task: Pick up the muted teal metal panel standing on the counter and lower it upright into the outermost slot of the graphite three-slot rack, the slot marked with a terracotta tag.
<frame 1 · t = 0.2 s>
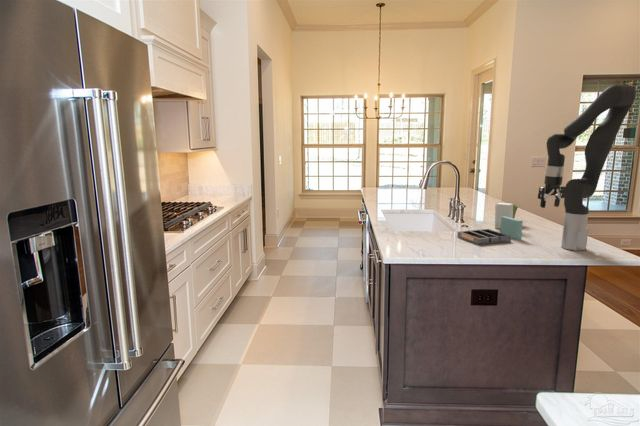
hand: (549, 207, 198), 18 cm above the countertop, tool pointing down, fingers open, 8 cm apart
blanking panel: (510, 236, 210), on the countertop
skincare box: (503, 228, 229), on the countertop
rack: (483, 239, 206), on the countertop
plant pot: (506, 223, 243), on the countertop
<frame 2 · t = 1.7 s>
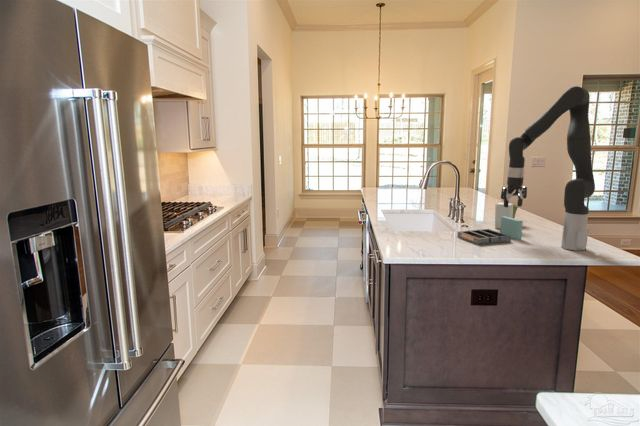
hand: (512, 206, 207), 16 cm above the countertop, tool pointing down, fingers open, 8 cm apart
nothing on the countertop moved.
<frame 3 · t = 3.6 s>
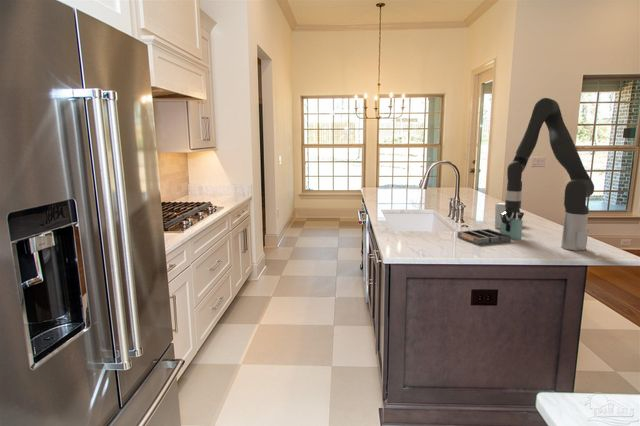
hand: (510, 231, 210), 3 cm above the countertop, tool pointing down, fingers closed on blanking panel, 3 cm apart
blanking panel: (510, 236, 210), on the countertop, touching gripper
everything else where it was.
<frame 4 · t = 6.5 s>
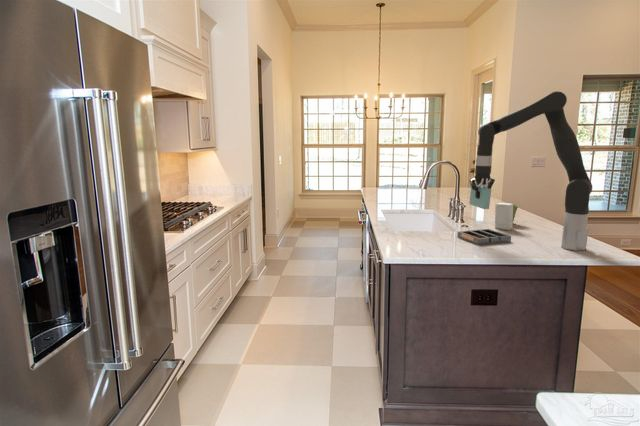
hand: (480, 198, 201), 22 cm above the countertop, tool pointing down, fingers closed on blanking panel, 3 cm apart
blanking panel: (478, 206, 203), point 17 cm above the countertop, touching gripper
everything else where it was.
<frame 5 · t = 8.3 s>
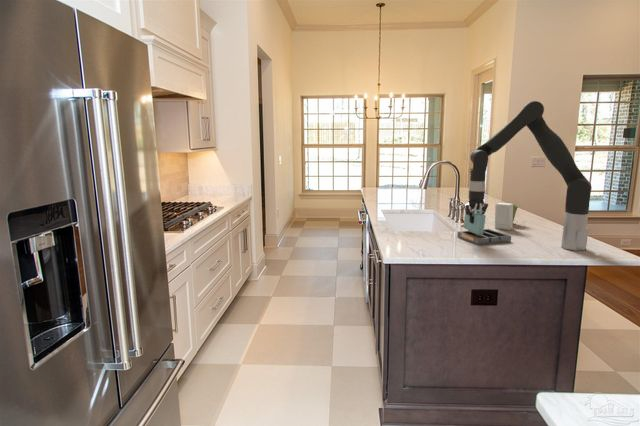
hand: (474, 222, 202), 9 cm above the countertop, tool pointing down, fingers closed on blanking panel, 3 cm apart
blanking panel: (472, 231, 204), point 5 cm above the countertop, tilted 5°, touching gripper
everything else where it was.
when the fingers open (6 cm above the countertop, at t = 9.5 s): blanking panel stays where it is, resting on rack.
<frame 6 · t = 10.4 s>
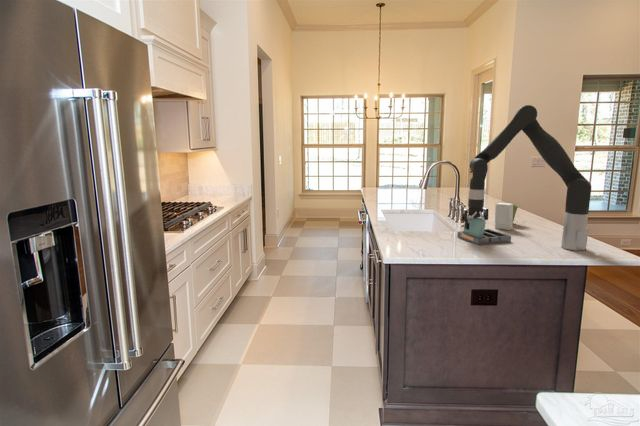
hand: (474, 228, 203), 6 cm above the countertop, tool pointing down, fingers open, 8 cm apart
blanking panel: (472, 235, 205), point 2 cm above the countertop, tilted 9°, touching rack
everything else where it was.
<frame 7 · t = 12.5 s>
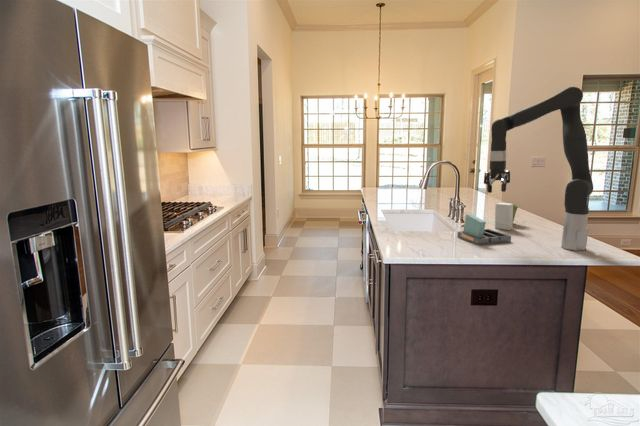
hand: (496, 192, 200), 25 cm above the countertop, tool pointing down, fingers open, 8 cm apart
nothing on the countertop moved.
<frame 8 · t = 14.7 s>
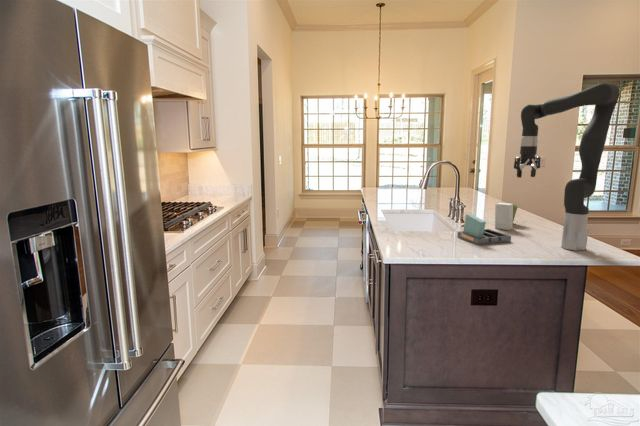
hand: (526, 177, 202), 32 cm above the countertop, tool pointing down, fingers open, 8 cm apart
nothing on the countertop moved.
at the end: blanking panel 1.1 cm from the target spot on the rack, point 2.1 cm above the rack's base; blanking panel tilted 9°; the gripper is holding nothing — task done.
